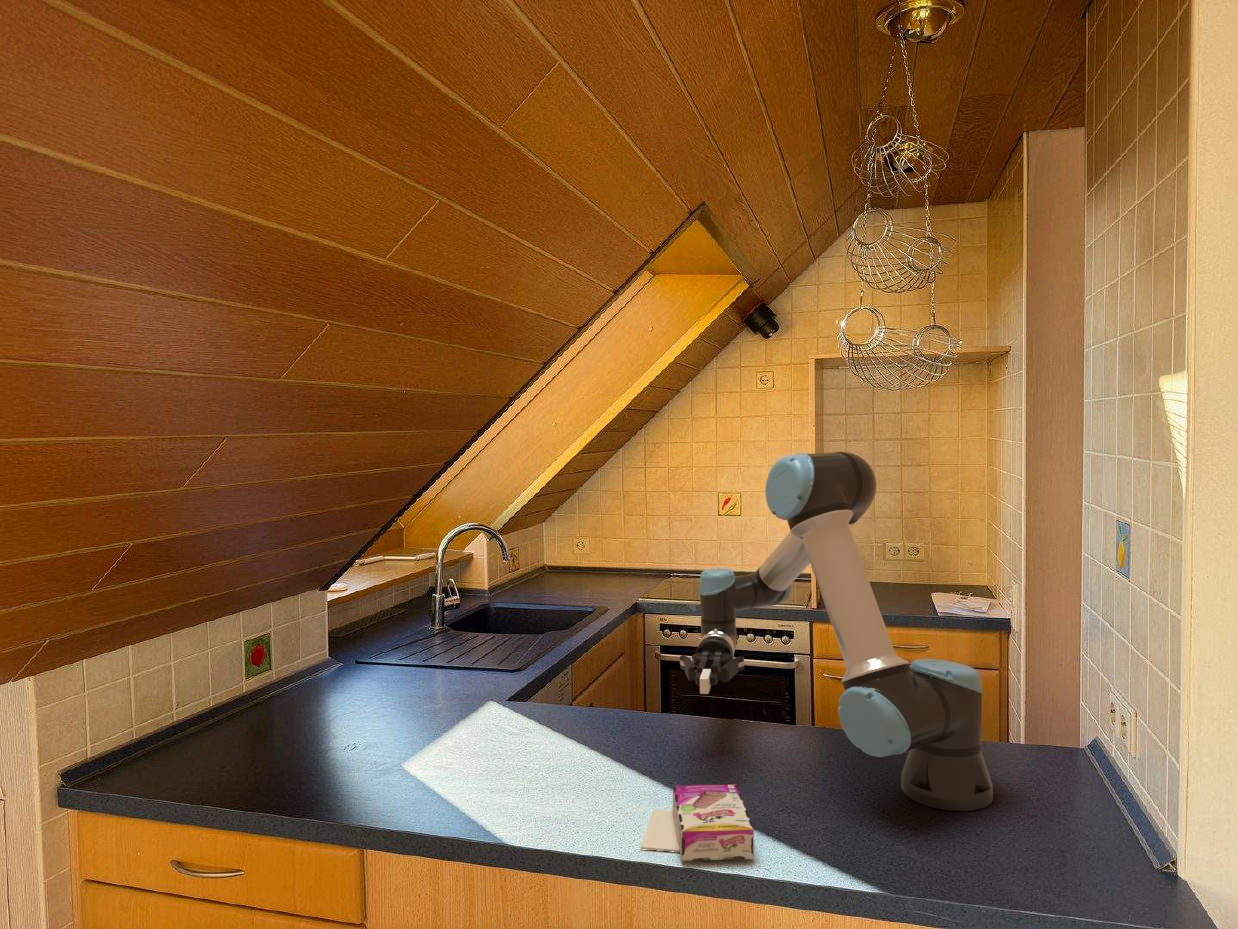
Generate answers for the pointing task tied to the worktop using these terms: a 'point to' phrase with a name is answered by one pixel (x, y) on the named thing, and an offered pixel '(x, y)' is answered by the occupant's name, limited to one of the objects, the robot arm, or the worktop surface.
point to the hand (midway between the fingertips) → (703, 686)
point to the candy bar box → (712, 823)
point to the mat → (661, 832)
